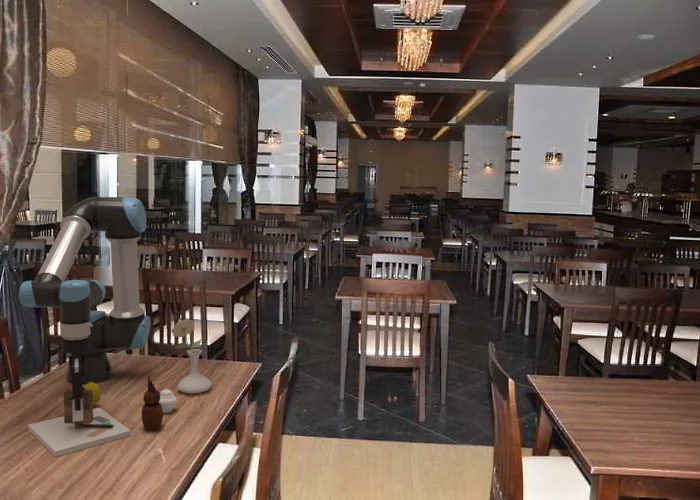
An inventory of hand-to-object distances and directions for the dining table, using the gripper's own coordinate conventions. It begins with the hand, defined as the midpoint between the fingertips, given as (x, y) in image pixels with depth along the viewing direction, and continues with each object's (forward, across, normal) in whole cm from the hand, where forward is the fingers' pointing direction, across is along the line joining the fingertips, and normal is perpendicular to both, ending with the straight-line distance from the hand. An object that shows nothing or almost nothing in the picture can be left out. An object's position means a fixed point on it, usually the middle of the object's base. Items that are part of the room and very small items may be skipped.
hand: (78, 417), depth 172 cm
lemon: (+5, +19, -4) cm, 20 cm away
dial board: (+5, 0, 0) cm, 5 cm away
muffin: (+5, +8, -25) cm, 27 cm away
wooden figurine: (+5, -4, -20) cm, 20 cm away
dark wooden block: (+3, -1, -3) cm, 4 cm away
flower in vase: (+5, +24, -35) cm, 43 cm away
